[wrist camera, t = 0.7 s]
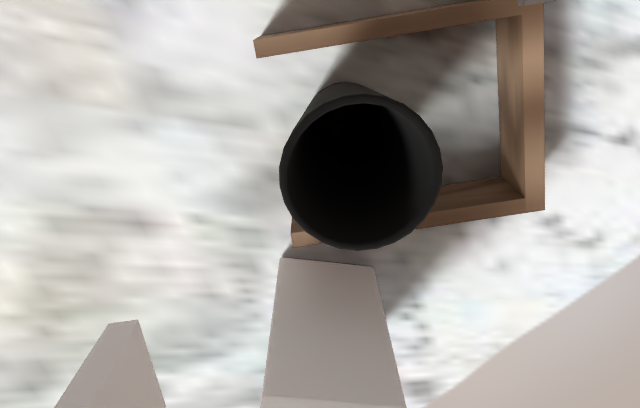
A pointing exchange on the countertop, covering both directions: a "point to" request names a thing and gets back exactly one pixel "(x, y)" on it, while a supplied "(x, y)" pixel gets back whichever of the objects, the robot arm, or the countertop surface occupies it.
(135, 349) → the robot arm
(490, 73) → the countertop surface
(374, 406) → the milk carton
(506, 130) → the comb rack
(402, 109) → the cup
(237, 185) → the countertop surface
